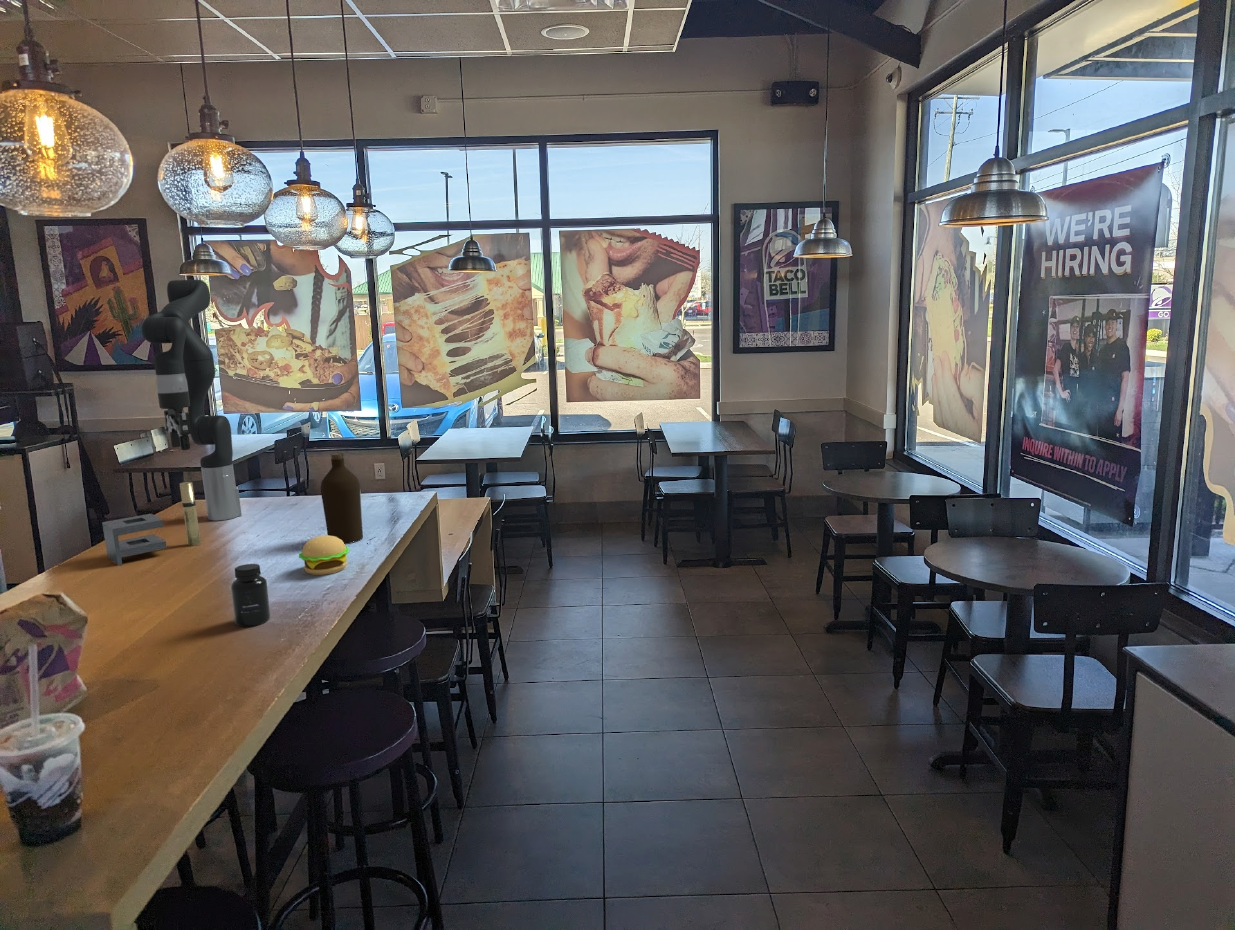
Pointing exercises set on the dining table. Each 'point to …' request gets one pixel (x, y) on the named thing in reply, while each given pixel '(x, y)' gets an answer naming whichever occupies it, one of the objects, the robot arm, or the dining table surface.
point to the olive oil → (342, 502)
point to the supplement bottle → (250, 596)
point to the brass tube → (190, 513)
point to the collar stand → (133, 545)
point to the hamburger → (324, 555)
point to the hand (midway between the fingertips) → (181, 448)
